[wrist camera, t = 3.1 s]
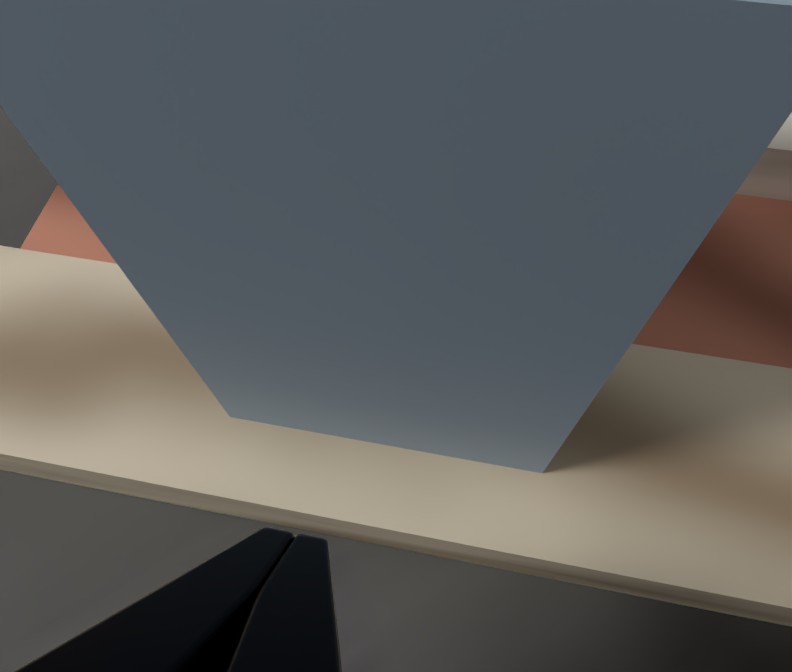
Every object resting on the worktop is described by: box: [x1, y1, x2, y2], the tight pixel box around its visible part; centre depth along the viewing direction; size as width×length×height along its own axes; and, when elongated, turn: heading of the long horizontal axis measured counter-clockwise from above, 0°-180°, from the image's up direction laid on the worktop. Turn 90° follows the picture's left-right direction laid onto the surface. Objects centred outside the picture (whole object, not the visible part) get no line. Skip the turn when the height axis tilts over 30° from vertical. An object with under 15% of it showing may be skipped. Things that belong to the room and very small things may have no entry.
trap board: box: [0, 112, 792, 627], centre depth 21 cm, size 25×28×2 cm
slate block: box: [0, 0, 792, 473], centre depth 12 cm, size 8×8×12 cm
